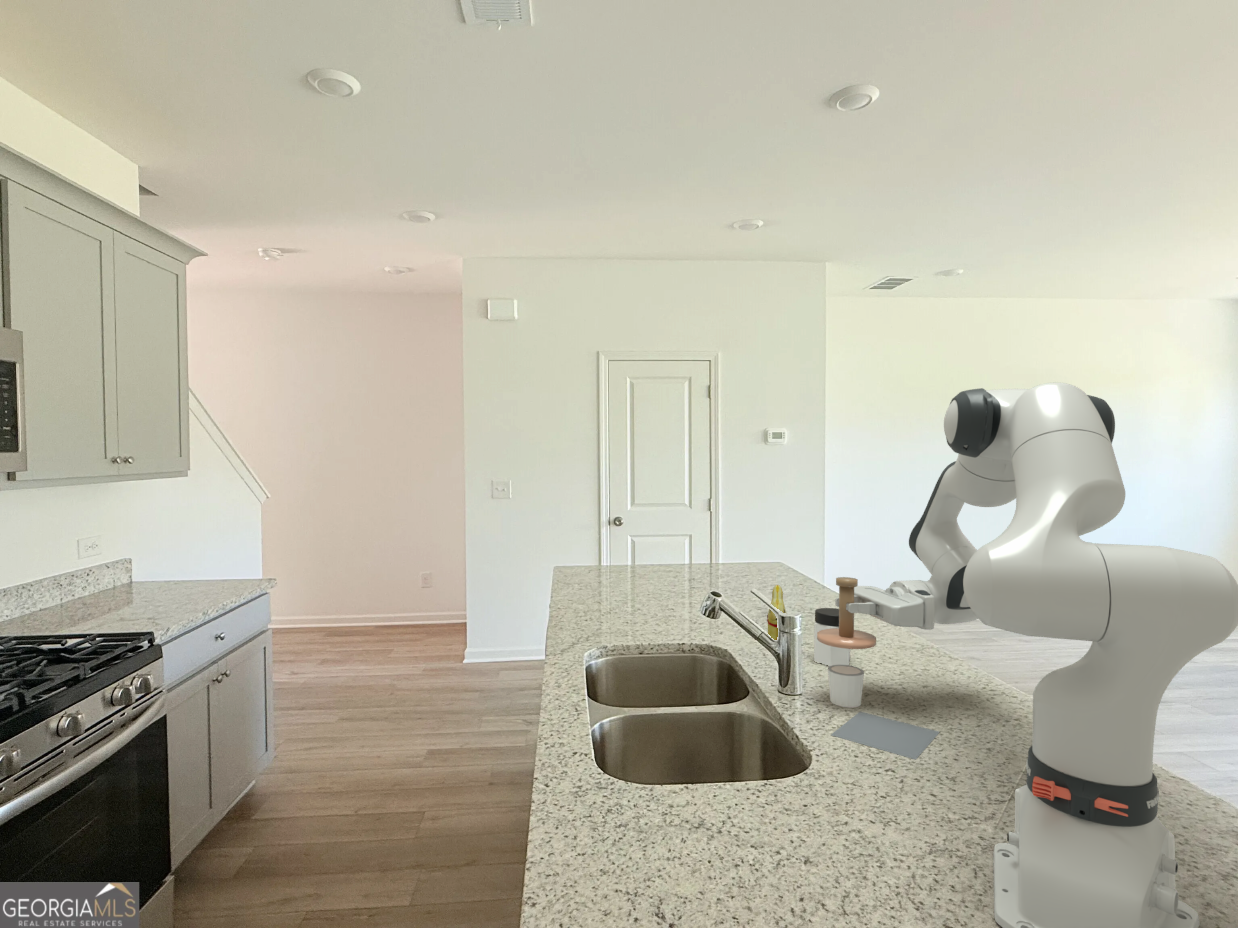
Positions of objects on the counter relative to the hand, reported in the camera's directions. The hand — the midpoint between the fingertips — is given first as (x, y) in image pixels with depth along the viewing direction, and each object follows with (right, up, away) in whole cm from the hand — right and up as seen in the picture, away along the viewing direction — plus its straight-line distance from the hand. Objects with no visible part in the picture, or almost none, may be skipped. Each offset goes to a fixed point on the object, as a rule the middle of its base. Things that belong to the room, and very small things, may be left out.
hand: (842, 605), depth 128 cm
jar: (+7, -20, +28) cm, 35 cm away
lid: (+1, -7, 0) cm, 7 cm away
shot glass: (+1, -20, 0) cm, 20 cm away
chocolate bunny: (-1, -20, +44) cm, 48 cm away
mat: (+3, -20, -14) cm, 25 cm away
